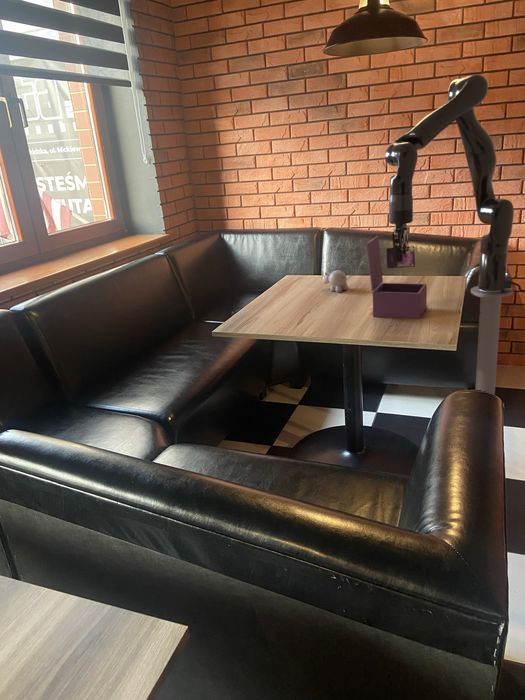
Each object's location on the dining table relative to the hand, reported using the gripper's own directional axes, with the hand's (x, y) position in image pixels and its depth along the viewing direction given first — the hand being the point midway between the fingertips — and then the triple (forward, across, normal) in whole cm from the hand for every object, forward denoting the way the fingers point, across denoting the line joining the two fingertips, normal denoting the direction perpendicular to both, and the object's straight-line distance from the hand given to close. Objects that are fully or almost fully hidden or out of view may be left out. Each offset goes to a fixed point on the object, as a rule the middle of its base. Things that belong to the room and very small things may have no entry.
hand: (400, 259), depth 180 cm
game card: (+2, 0, 0) cm, 3 cm away
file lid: (+1, 0, +8) cm, 8 cm away
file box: (+18, 0, 0) cm, 18 cm away
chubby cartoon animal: (+19, +26, +33) cm, 46 cm away
